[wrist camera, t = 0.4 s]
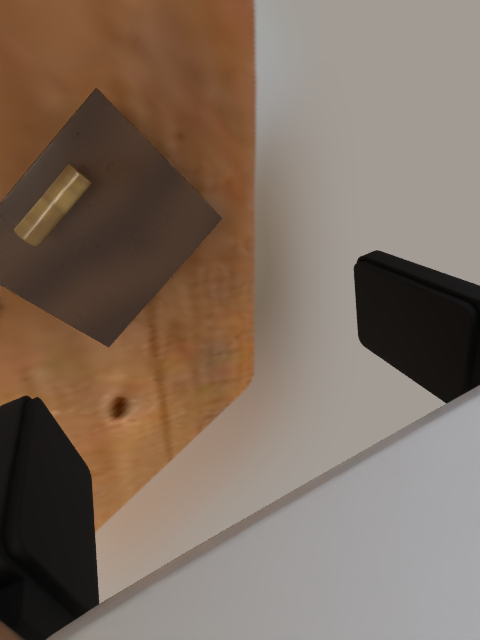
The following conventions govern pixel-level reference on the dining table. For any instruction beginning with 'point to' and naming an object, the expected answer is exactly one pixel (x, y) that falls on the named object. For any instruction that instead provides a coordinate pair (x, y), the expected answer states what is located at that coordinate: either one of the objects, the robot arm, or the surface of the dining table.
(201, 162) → the dining table surface
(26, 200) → the lid
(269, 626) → the robot arm
